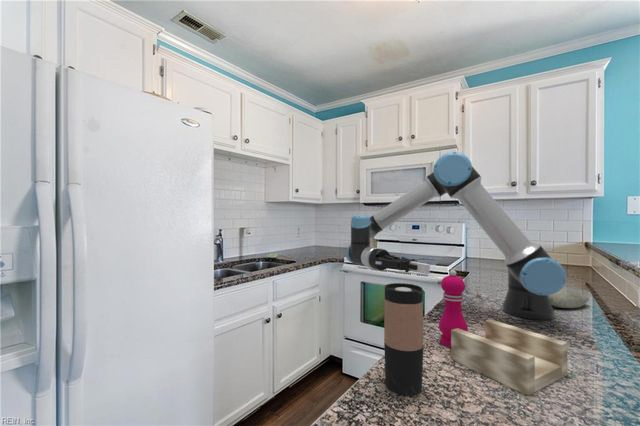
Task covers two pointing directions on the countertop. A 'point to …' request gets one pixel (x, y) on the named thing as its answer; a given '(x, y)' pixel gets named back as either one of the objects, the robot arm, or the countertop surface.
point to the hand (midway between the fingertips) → (427, 269)
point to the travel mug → (403, 338)
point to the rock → (568, 299)
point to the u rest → (511, 356)
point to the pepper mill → (452, 307)
